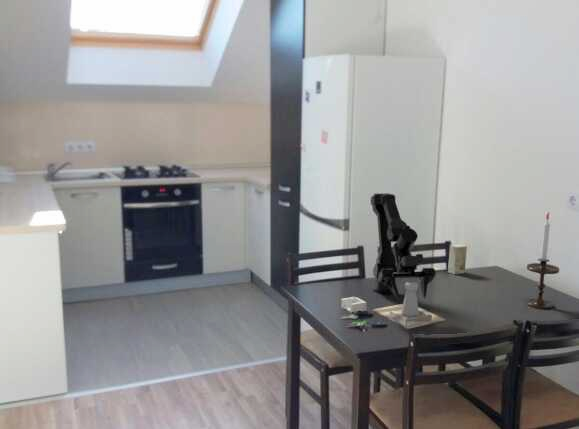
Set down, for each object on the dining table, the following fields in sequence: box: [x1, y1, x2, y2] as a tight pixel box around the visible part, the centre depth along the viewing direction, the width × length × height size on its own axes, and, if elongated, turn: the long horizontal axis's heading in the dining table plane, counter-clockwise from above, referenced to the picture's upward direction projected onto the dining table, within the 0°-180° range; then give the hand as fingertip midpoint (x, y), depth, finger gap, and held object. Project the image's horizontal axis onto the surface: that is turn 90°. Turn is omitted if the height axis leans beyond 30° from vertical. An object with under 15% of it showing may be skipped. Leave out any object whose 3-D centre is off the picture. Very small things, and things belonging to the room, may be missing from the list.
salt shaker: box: [401, 281, 419, 318], centre depth 199 cm, size 6×6×13 cm
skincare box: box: [447, 243, 468, 275], centre depth 259 cm, size 6×4×12 cm
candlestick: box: [526, 211, 560, 310], centre depth 215 cm, size 11×11×35 cm
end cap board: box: [372, 303, 446, 329], centre depth 205 cm, size 19×16×3 cm
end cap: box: [340, 296, 367, 314], centre depth 212 cm, size 6×7×3 cm
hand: (411, 297), depth 199 cm, fingers open, 9 cm apart
